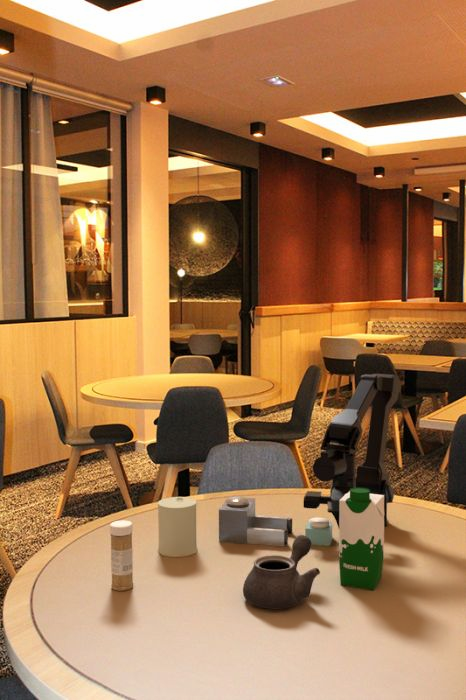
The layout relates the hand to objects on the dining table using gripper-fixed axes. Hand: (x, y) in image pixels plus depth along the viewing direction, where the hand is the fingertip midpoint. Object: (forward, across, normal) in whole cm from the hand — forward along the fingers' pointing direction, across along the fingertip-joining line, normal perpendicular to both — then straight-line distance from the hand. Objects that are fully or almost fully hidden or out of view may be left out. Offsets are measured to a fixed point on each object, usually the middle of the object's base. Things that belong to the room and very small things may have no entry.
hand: (342, 536), depth 172 cm
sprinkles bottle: (+2, -43, -35) cm, 56 cm away
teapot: (+2, -9, -33) cm, 34 cm away
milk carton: (+2, +5, -23) cm, 24 cm away
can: (+2, -38, -12) cm, 40 cm away
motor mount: (+2, -21, 0) cm, 21 cm away
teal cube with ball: (+2, -6, 0) cm, 6 cm away
